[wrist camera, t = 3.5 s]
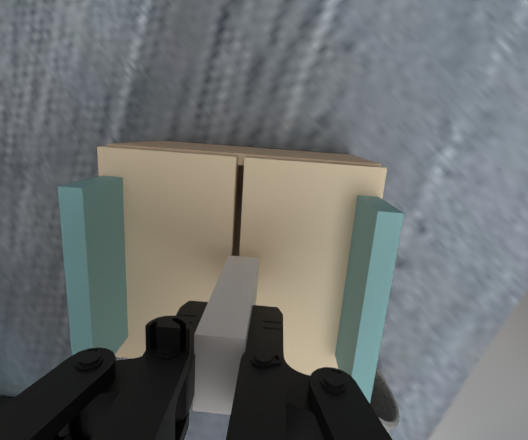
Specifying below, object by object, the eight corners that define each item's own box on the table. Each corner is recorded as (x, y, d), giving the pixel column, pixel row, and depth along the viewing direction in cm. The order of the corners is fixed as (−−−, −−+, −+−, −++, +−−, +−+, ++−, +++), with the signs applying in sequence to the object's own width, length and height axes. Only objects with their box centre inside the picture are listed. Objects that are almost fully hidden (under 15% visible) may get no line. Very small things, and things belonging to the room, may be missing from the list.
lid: (234, 358, 20) (222, 418, 16) (246, 156, 17) (235, 163, 13) (350, 369, 20) (369, 432, 16) (382, 166, 17) (415, 177, 13)
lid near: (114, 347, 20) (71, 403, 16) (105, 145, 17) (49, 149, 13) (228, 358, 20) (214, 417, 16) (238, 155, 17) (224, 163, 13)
